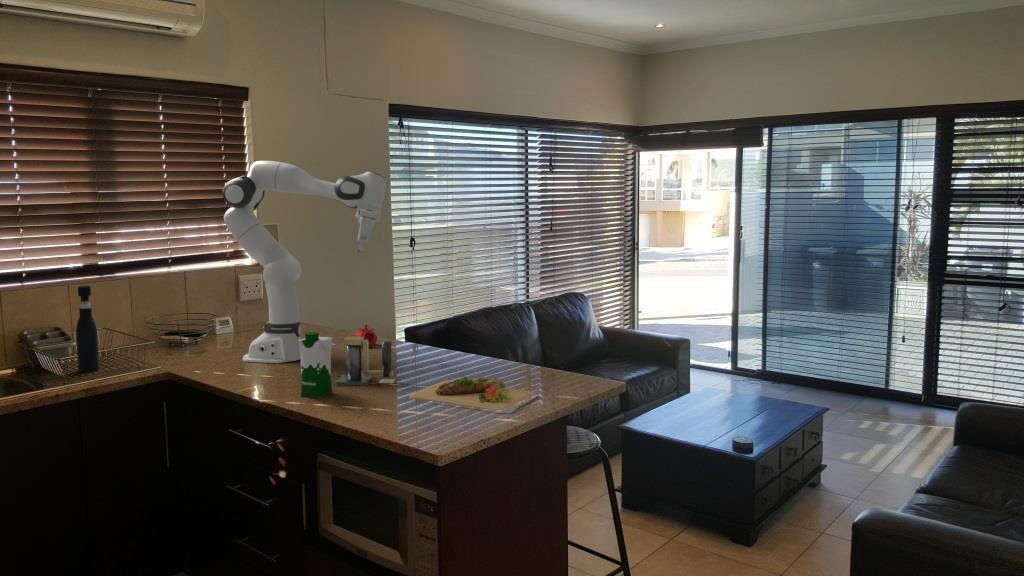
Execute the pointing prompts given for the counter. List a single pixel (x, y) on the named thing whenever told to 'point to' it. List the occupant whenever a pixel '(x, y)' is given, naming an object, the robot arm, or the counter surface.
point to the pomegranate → (367, 335)
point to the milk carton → (315, 365)
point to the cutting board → (472, 393)
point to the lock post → (356, 368)
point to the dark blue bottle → (86, 334)
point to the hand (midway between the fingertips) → (360, 251)
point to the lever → (386, 357)
